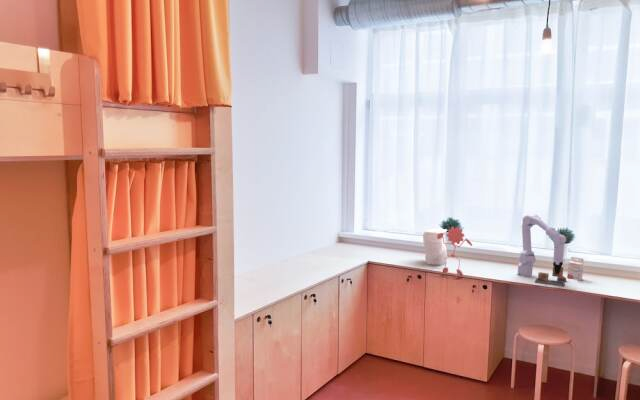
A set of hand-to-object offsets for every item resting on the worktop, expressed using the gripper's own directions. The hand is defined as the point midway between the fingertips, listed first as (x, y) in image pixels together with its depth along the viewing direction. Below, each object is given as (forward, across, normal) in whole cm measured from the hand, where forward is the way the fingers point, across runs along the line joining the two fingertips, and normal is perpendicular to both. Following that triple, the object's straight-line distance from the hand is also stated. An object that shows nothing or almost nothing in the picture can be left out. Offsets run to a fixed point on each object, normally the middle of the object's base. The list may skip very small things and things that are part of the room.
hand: (557, 273), depth 322 cm
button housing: (+8, +10, -2) cm, 14 cm away
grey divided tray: (+8, 0, +4) cm, 9 cm away
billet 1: (+7, 0, +8) cm, 11 cm away
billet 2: (+2, 0, 0) cm, 2 cm away
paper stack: (+8, +18, +89) cm, 91 cm away
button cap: (+7, +10, -2) cm, 13 cm away
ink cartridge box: (+8, +26, -10) cm, 29 cm away
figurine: (+8, -11, +65) cm, 67 cm away
